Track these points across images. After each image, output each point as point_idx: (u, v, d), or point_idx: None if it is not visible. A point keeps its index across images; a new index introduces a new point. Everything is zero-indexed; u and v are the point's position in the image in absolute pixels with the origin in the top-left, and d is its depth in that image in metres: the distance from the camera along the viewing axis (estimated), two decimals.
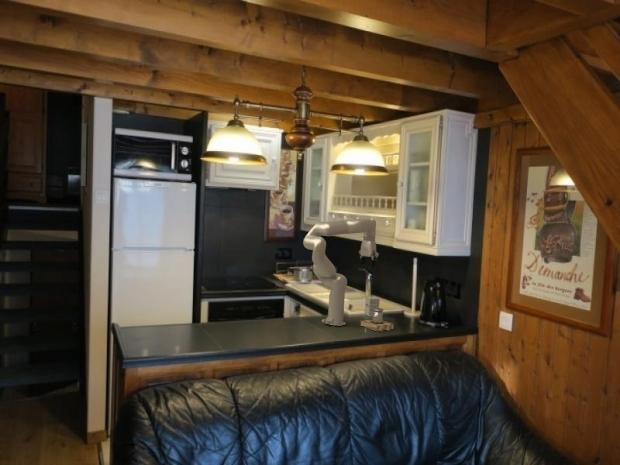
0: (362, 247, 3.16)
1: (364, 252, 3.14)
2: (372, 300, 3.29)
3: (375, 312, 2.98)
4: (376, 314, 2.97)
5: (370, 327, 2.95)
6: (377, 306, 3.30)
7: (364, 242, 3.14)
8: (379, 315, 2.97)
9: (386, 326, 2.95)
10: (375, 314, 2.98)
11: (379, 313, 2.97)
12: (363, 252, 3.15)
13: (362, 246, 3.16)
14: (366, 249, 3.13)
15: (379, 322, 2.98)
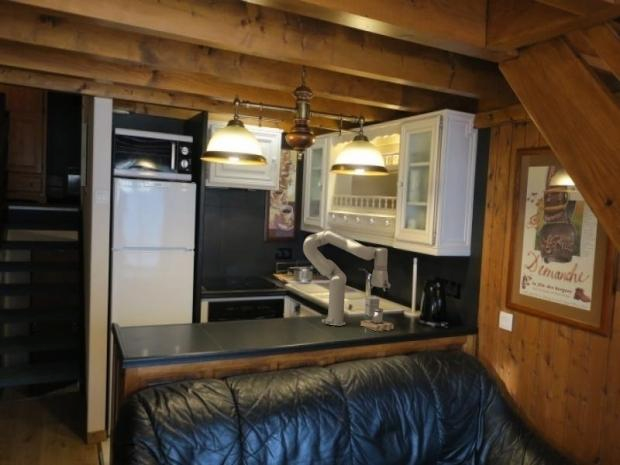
0: (373, 277, 3.00)
1: (375, 283, 2.98)
2: (372, 300, 3.29)
3: (375, 312, 2.98)
4: (376, 314, 2.97)
5: (370, 327, 2.95)
6: (377, 306, 3.30)
7: (375, 272, 2.98)
8: (379, 315, 2.97)
9: (386, 326, 2.95)
10: (375, 314, 2.98)
11: (379, 313, 2.97)
12: (374, 282, 2.99)
13: (373, 276, 3.00)
14: (377, 279, 2.96)
15: (379, 322, 2.98)
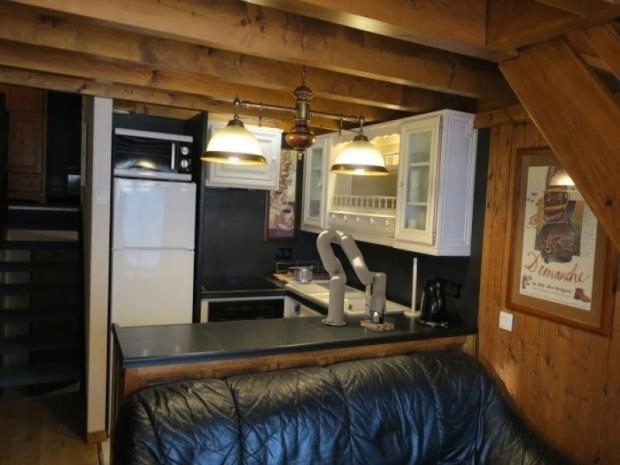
0: (371, 302, 3.00)
1: (374, 307, 2.99)
2: None
3: (375, 312, 2.98)
4: (376, 314, 2.97)
5: (370, 327, 2.95)
6: None
7: (373, 297, 2.99)
8: (379, 315, 2.97)
9: (386, 326, 2.95)
10: (375, 314, 2.98)
11: None
12: (372, 307, 3.00)
13: (371, 301, 3.00)
14: (375, 304, 2.97)
15: None
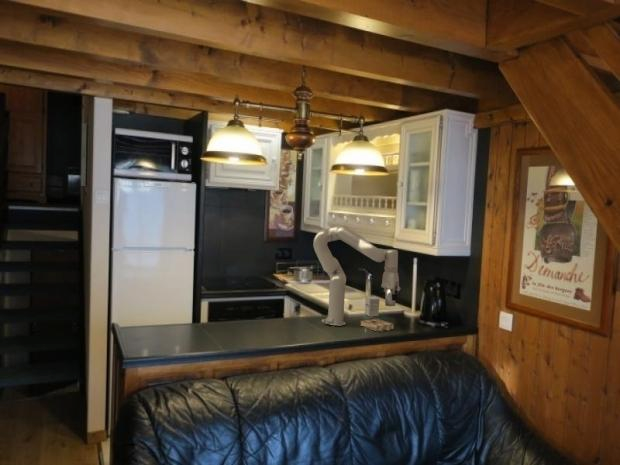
0: (384, 279, 2.99)
1: (386, 284, 2.97)
2: (372, 300, 3.29)
3: (388, 289, 2.96)
4: (389, 291, 2.96)
5: (370, 327, 2.95)
6: (377, 306, 3.30)
7: (386, 274, 2.98)
8: (392, 292, 2.96)
9: (386, 326, 2.95)
10: (388, 291, 2.96)
11: None
12: (385, 284, 2.98)
13: (384, 278, 2.99)
14: (388, 281, 2.96)
15: None
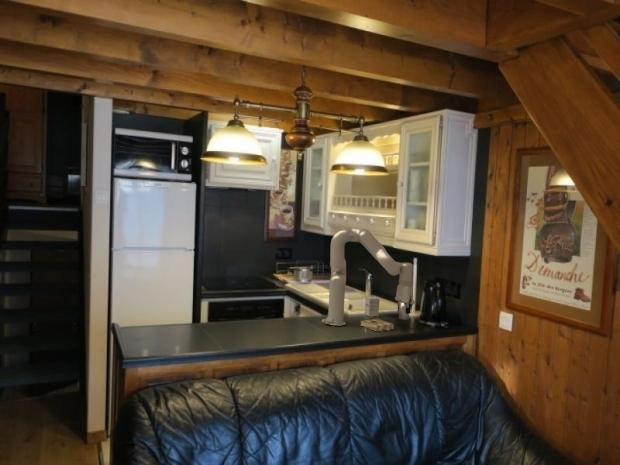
0: (398, 292, 2.99)
1: (400, 298, 2.97)
2: (372, 300, 3.29)
3: (402, 302, 2.96)
4: (403, 304, 2.96)
5: (370, 327, 2.95)
6: (377, 306, 3.30)
7: (400, 287, 2.98)
8: (406, 305, 2.96)
9: (386, 326, 2.95)
10: (402, 304, 2.96)
11: None
12: (399, 297, 2.98)
13: (398, 291, 2.99)
14: (402, 294, 2.96)
15: None
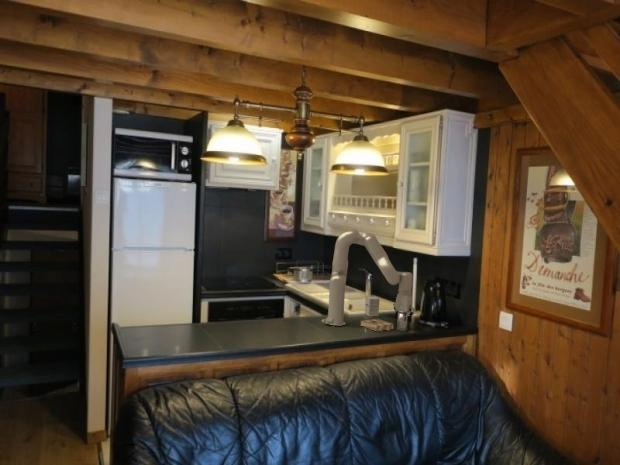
0: (397, 301, 2.99)
1: (400, 307, 2.98)
2: (372, 300, 3.29)
3: (400, 314, 2.97)
4: (401, 316, 2.97)
5: (370, 327, 2.95)
6: (377, 306, 3.30)
7: (399, 296, 2.98)
8: (404, 317, 2.97)
9: (386, 326, 2.95)
10: (400, 316, 2.97)
11: (404, 315, 2.96)
12: (398, 307, 2.99)
13: (397, 300, 2.99)
14: (402, 304, 2.96)
15: (404, 324, 2.97)
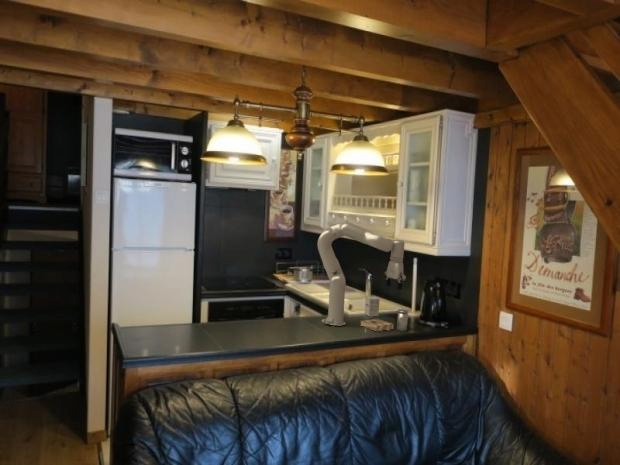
0: (389, 268, 3.02)
1: (391, 274, 3.01)
2: (372, 300, 3.29)
3: (400, 314, 2.97)
4: (401, 316, 2.97)
5: (370, 327, 2.95)
6: (377, 306, 3.30)
7: (391, 263, 3.01)
8: (404, 317, 2.97)
9: (386, 326, 2.95)
10: (400, 316, 2.97)
11: (404, 315, 2.96)
12: (389, 274, 3.01)
13: (389, 267, 3.02)
14: (393, 271, 2.99)
15: (404, 324, 2.97)
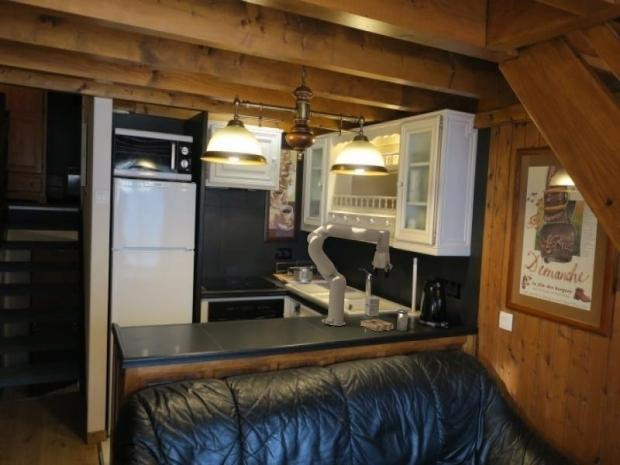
0: (375, 258, 3.08)
1: (377, 264, 3.06)
2: (372, 300, 3.29)
3: (400, 314, 2.97)
4: (401, 316, 2.97)
5: (370, 327, 2.95)
6: (377, 306, 3.30)
7: (377, 253, 3.06)
8: (404, 317, 2.97)
9: (386, 326, 2.95)
10: (400, 316, 2.97)
11: (404, 315, 2.96)
12: (376, 263, 3.07)
13: (375, 257, 3.08)
14: (379, 260, 3.05)
15: (404, 324, 2.97)
